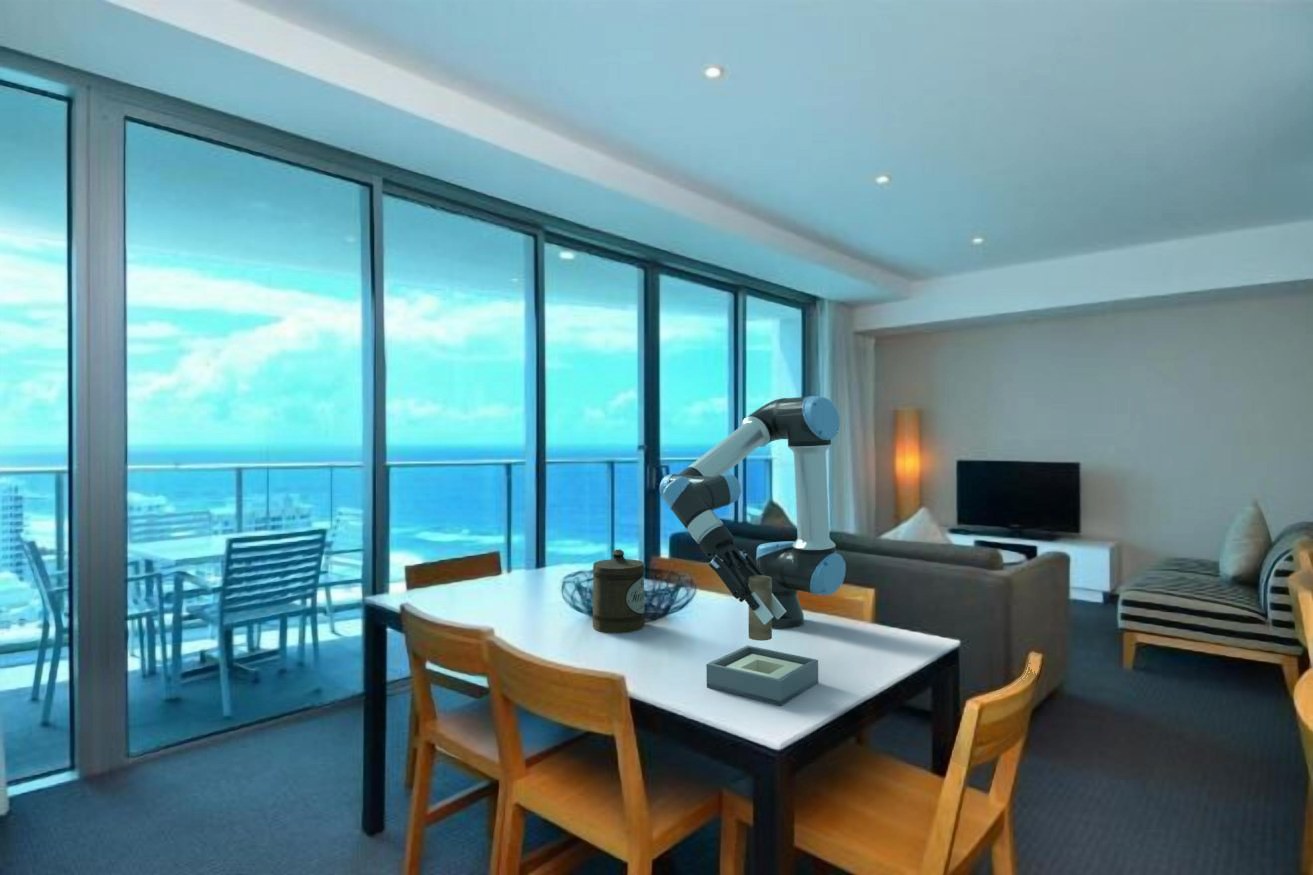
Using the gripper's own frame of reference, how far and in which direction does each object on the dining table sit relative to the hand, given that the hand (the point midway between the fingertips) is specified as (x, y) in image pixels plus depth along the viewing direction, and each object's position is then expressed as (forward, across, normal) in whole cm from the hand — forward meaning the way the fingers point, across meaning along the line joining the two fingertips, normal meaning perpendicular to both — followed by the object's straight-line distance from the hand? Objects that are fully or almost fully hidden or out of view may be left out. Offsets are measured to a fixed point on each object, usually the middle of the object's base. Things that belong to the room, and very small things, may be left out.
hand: (775, 617), depth 153 cm
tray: (+8, -1, -13) cm, 16 cm away
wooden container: (-32, -18, -54) cm, 65 cm away
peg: (+1, 0, -6) cm, 6 cm away
